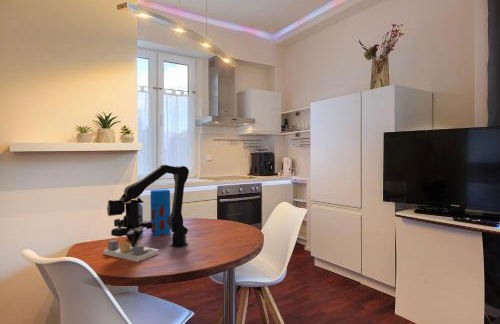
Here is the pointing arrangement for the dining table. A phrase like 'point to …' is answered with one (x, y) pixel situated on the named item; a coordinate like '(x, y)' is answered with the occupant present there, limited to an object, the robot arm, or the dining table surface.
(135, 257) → the breaker panel
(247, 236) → the dining table surface
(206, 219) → the dining table surface
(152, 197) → the tall blue box
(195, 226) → the dining table surface
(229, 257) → the dining table surface
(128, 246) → the handle
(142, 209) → the aerosol can
